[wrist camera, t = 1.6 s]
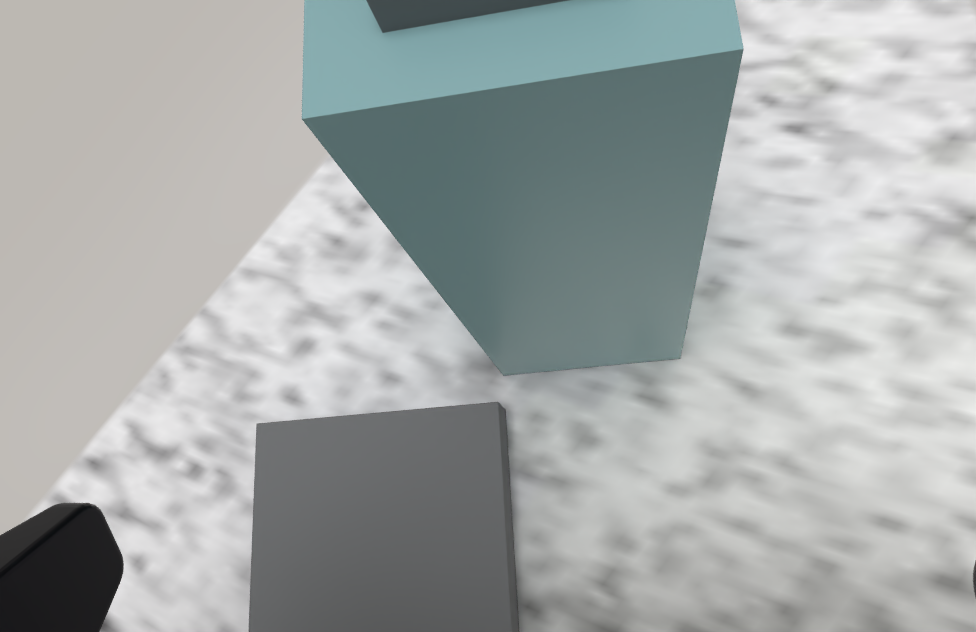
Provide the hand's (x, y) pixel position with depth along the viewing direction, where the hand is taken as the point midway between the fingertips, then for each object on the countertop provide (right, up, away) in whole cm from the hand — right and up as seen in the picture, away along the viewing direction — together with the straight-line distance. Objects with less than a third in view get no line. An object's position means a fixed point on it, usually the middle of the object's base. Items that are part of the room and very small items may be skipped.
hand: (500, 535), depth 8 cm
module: (+3, +3, +15) cm, 15 cm away
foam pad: (-3, -4, +14) cm, 14 cm away
